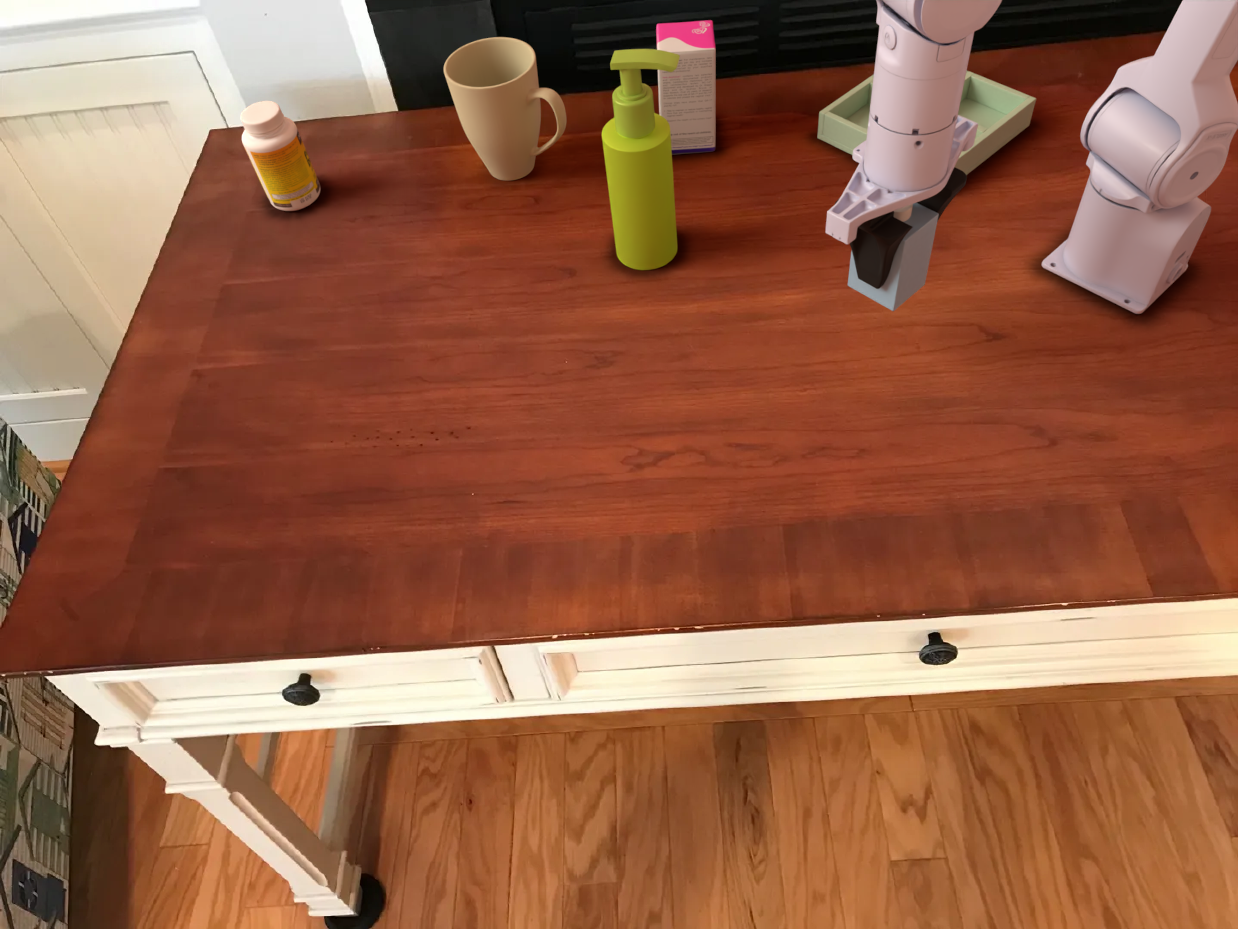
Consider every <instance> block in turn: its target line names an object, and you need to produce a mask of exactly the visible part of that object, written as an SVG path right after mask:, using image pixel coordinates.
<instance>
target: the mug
mask: <svg viewBox="0 0 1238 929" xmlns="http://www.w3.org/2000/svg"><path fill="white" fill-rule="evenodd" d="M537 65H538V64H537V55H536V52H535V50H534V49H533V47H532V46H531V45H530V44H529V43H527V42H525V41H523V40H521V39H518V38H513V37H506V36H495V37H488V38H487V37H486V38H481V39H477V40H474V41H472V42H468V43H466V44H464V45H462V46H460V47H459V48H457V49H456V50H454V51H453V52H452V53H451V54H450V55H449V56H448V57H447V59H446V60H445V62H444V65H443V74H444V77H445V81H446V83H447V86H448V89H449V92H450V95H451V99H452V101H453V104H454V107H455V110H456V113H457V116H458V119H459V122H460V125H461V127H462V129H463V131H464V133H465V136H466V137H467V139H468V141H469V142H470V144H471V146H472V148H473V149H474V151H475V152H476V154H477V155H478V157H479V159H480V160H481V161H482V162H483V164H484V166H485V167H486V169H487V170H488V172H489V174H490V176H492V177H493V178H494V179H497V180H500V181H506V182H507V181H509V182H510V181H517V180H520V179H522V178H525V177H527V176H528V175H529V174H530V173H531V172H533V170H534V167H535V163H536V156H539V155H541V154H542V153H544V152H545V151H547V150H548V149H550V148H551V147H552V146H553V145H555V144H556V143H557V142H558V141H559V140H560V138H561V137H562V136H563V134H564V133H565V131H566V128H567V112H566V107H565V104H564V102H563V99H562V97H561V96H560V94H559V93H558V92H557V91H555V90H554V89H552V88H549V87H540V84H539V76H538V66H537ZM541 99H543V100H545V101H546V102H547V103H548V104H549V105H550V107H551V110H552V111H553V112H554V113H553V114H554V117H555V120H556V132H555V135H554V136H553V137H552V138H550V140H549V141H547V142H546V143H544V144H543V145H542V146H540V147H538V143H539V138H540V132H541V121H542V119H541V118H542V106H541Z"/></svg>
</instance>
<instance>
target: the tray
mask: <svg viewBox="0 0 1238 929" xmlns="http://www.w3.org/2000/svg"><path fill="white" fill-rule="evenodd" d="M873 78H874V73H873V74H872V75H871V76H869V77H867V78H866V79H865V80H863V81H862V82H861V83H859V84H857V85H856V86H855V87H853V88H851V89H850V90H849V91H847V92H846V93H844V94H843V95H841V96H839V97H838V98H837V99H835V100H834V101H833V102H832V103H830V104H829V105H827V106H826V107H824V108H822V109H821V110H820V111H819V113H818V124H817V136H816V137H817V139H818V140H820V141H822V142H824V143H826V144H829V145H830V146H833V147H835V148H837V149H839V150H841V151H842V152H845V153H847V154H849V155H851V156H852V155H853V150H854V148H856V147H857V146H858V145H860V144H861V143H863V142H864V141H866V139H867V130H868V122H869V113H870V103H871V95H872V86H873ZM1036 101H1037V98H1036V97H1034V96H1033V95H1032V96H1031V95H1029V94H1026V93H1024V92H1022V91H1020V90H1018V89H1017V90H1016V89H1014V88H1012V87H1010V86H1007V85H1005V84H1001V83H999V82H997V81H995V80H992V79H989V78H987V77H984V76H983V75H980V74H977V73H974V72H972V71H969V70H967V71H966V76H965V81H964V86H963V91H962V96H961V101H960V106H959V112H958V115H960V116H962V117H964V118H967V119H969V120H971V121H974V122H976V123H978V127H977V132H976V136H975V141H974V145H973V146H972V147H971V148H970V149H969V150H967V151H962V152H961V154H960V156H959V158H958V161H957V163H956V165H955V168H958V169H960V170H962V171H963V172H964V173H965V174H966V176H968V175H969V174H970V173H971V172H972V171H974V170H975V169H976V168H977V167H979V166H980V165H982V163H984V162H985V161H986V160H987V159H989V158H990V157H991V156H992V155H994V154H995V153H996V152H998V151H999V150H1000V149H1002V148H1003V147H1004V146H1005V145H1006V144H1008V143H1009V142H1010V141H1012V140H1013V139H1014V138H1015V137H1017V136H1018V135H1019V134H1020V133H1022V132H1023V131H1025V129H1027V128H1028V127H1030V124H1031V120H1032V116H1033V112H1034V110H1035V109H1034V108H1035V105H1036V103H1037V102H1036Z"/></svg>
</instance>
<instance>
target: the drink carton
mask: <svg viewBox="0 0 1238 929" xmlns="http://www.w3.org/2000/svg"><path fill="white" fill-rule="evenodd" d="M938 216H939V214H938V213H936V212H934V211H932V210H930V209H928V208H926V207H924V206H922V205H920V204H918V203H914V204H911V205H908V206H905V207H903V208H900V209H897V210H895V211H894V217H895V218H896V219H898V220H900V221H902V222H904V223H906V224H908V225H910V226H912V227H913V228H912V229H911V230H910V231H909V232H908V233H907V234H906V235H905V237H904V238H903V240H902V241H901V243H900V245H899V247H898V249H897V251H896V253H895V256H894V258H893V262H892V266H891V269H890V272H889V275H888V277H887V279H886V281H885V283H884V285H883V286H882V287H880V288H879V289H876V288H874V287H872V286H871V285H869V284H867V283H865V282H863V281H862V280H860V279H858V276H857V271H856V266H855V261H854V257H853V253H852V250H851V251H850V259H849V267H848V268H849V271H848V278H847V287H849V288H851V289H852V290H854V291H856V292H858V293H860V294H862V295H863V296H865V297H867V298H868V299H870V300H872V301H874V302H875V303H877V304H878V305H879V304H880V305H881V306H882V307H885V308H887V309H888V310H890V311H891V312H895V311H896V310H897V309H898V308H899V307H901V306H902V305H903V304H904V303H905V302H907V301H908V300H909V299H910V298H911V297H912V296H913V295H915V294H916V293H917V292H918V291H919V290H920V289H922V288H923V287H924V286H925V285H926V282H927V275H928V271H929V266H930V261H931V255H932V251H933V246H934V240H935V237H936V231H937V227H938V226H937V225H938V222H939V220H938ZM937 221H938V222H937Z"/></svg>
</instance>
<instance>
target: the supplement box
mask: <svg viewBox="0 0 1238 929" xmlns="http://www.w3.org/2000/svg"><path fill="white" fill-rule="evenodd" d="M655 28H656V29H655V33H656V37H655V38H656V50H662V51H667V52H671V53H675V54H678V55H680V57H679V61H678V65H677V68H676V69H675V70H674V71H673V72H668V71H663V70H657V86H658V88H657V89H658V91H657V92H658V114H659V115H661V116H662V117H664V118H665V119H666V120H667V121H668V123H669V125H670V133H671V149H672V156H673V155H674V156H675V155H684V154H700V153H711V152H715V151H716V133H717V132H716V127H717V126H716V124H717V122H716V120H717V118H716V110H717V109H716V107H717V106H716V100H717V97H716V94H717V93H716V91H717V90H716V89H717V88H716V85H717V84H716V76H717V74H716V67H717V66H716V64H717V63H716V62H717V61H716V57H717V56H716V55H717V54H716V41H715V40H716V39H715V30H714V21H713V20H711V19H708V20H694V21H682V22H662V23H657V24H656V27H655Z"/></svg>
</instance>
